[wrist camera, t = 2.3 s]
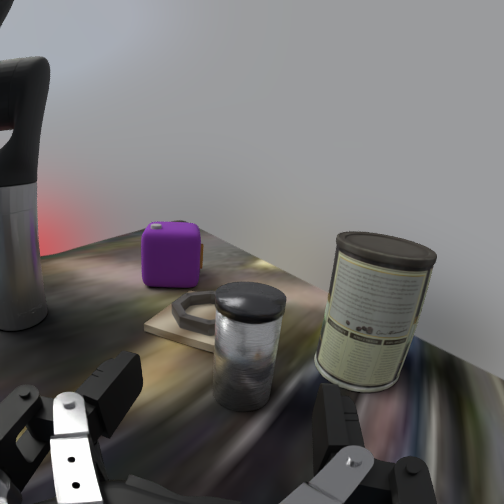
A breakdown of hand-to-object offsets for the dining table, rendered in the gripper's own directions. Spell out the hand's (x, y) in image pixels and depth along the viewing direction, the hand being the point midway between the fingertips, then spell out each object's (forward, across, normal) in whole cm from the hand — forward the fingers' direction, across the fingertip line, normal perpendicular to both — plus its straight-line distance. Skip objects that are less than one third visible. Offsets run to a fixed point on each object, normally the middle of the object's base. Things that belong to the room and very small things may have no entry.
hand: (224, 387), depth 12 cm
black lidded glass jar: (+12, 0, +10) cm, 15 cm away
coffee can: (+18, -12, +10) cm, 24 cm away
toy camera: (+38, +17, +10) cm, 43 cm away
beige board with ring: (+24, +6, +10) cm, 27 cm away
